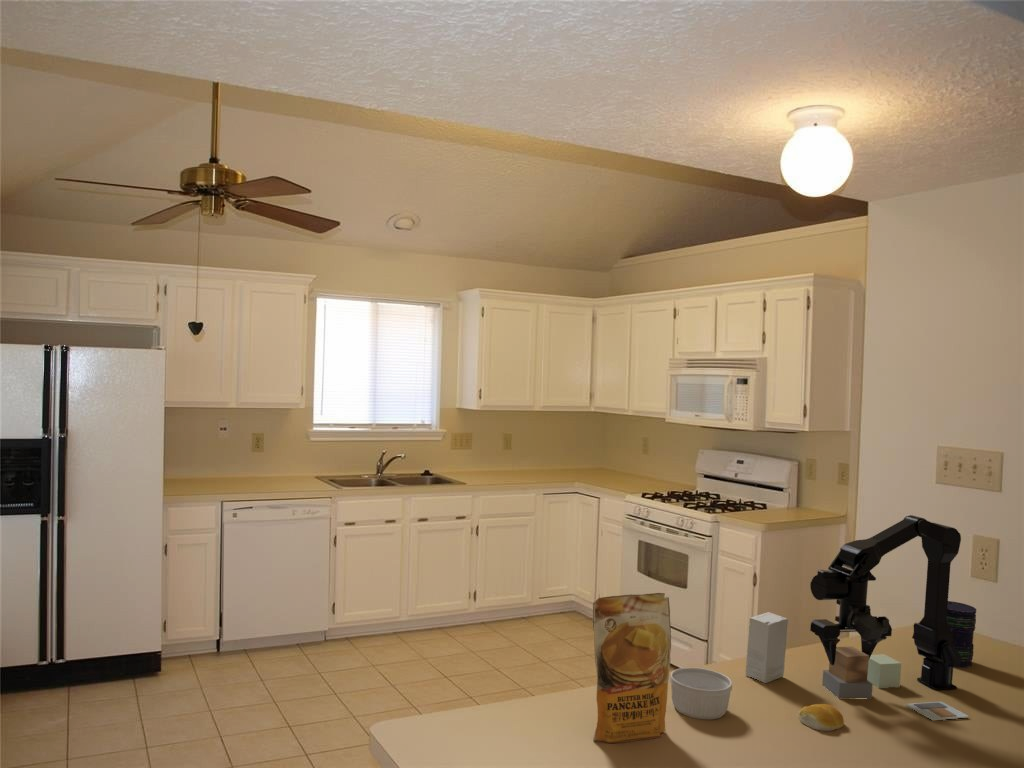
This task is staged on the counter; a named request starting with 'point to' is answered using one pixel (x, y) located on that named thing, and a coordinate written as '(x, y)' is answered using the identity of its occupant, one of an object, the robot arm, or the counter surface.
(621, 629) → the pancake mix bag
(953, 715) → the card
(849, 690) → the charcoal block
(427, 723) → the counter surface
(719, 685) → the ramekin
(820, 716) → the bread roll
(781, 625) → the skincare box
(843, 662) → the walnut cube
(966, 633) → the storage jar
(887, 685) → the sage cube
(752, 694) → the counter surface
